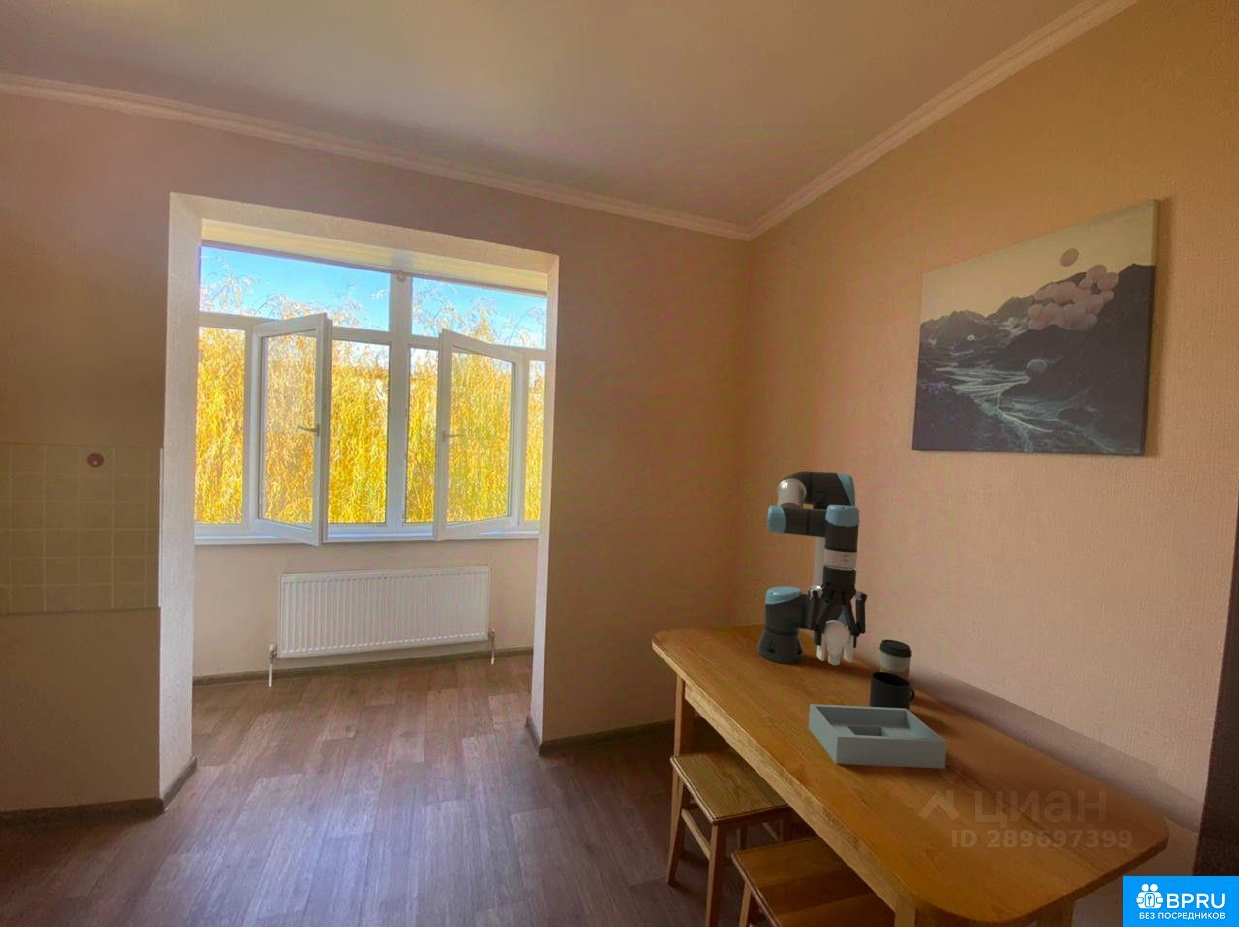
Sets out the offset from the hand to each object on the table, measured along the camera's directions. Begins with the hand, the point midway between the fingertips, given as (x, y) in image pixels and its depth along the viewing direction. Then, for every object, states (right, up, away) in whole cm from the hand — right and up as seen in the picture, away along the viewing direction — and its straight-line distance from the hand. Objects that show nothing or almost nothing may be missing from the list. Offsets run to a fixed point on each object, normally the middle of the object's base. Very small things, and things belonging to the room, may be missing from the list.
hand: (834, 659), depth 117 cm
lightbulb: (0, -2, 0) cm, 2 cm away
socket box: (+6, -18, -7) cm, 20 cm away
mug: (+21, -19, +11) cm, 30 cm away
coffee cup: (+27, -20, +21) cm, 39 cm away
